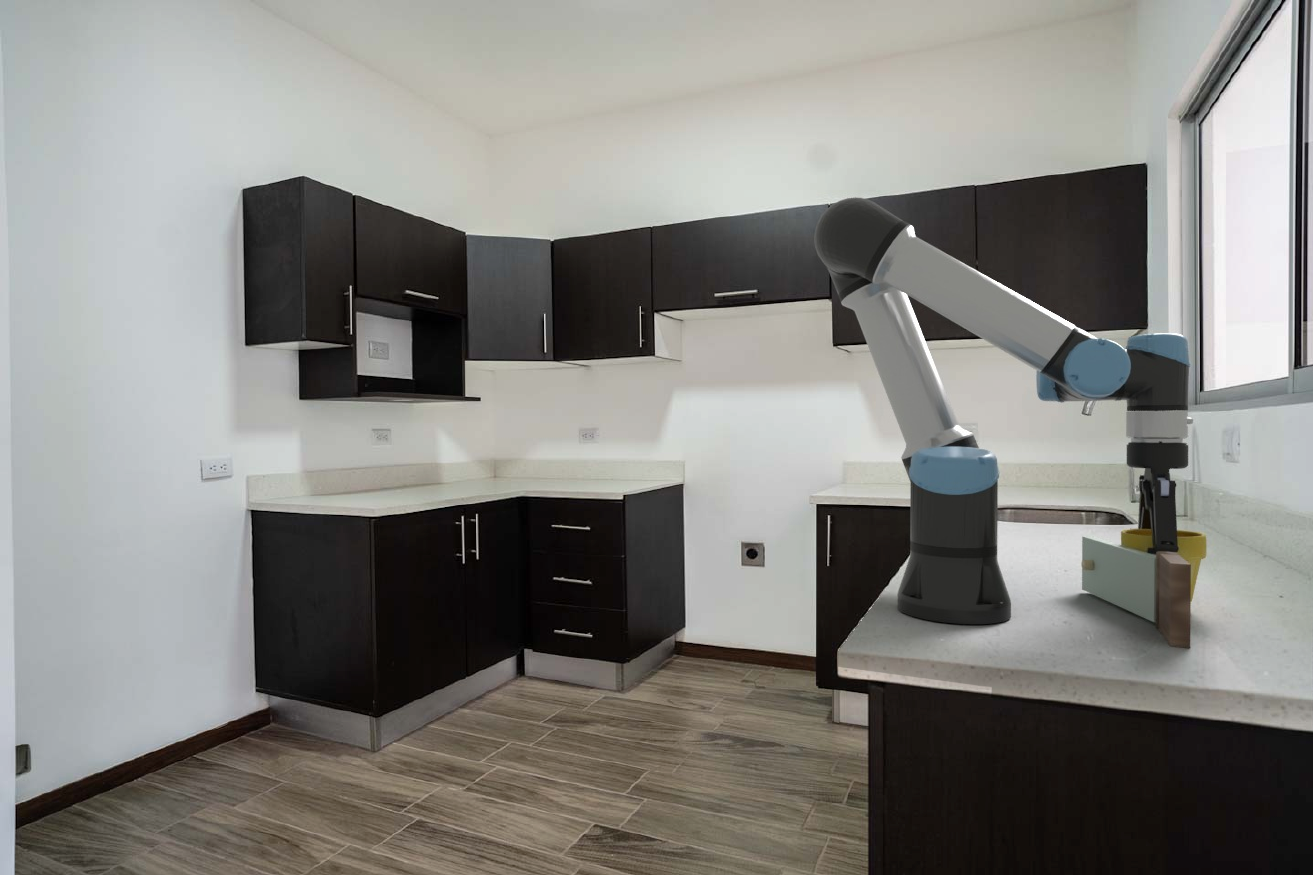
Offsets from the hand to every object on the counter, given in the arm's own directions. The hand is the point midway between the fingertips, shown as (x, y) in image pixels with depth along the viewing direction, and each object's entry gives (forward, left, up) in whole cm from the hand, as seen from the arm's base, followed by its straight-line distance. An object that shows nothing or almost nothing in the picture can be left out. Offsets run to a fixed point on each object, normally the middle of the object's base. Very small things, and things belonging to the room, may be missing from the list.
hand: (1156, 592), depth 111 cm
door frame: (-1, -4, -2) cm, 5 cm away
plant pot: (+1, 0, -1) cm, 1 cm away
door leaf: (-5, -2, -2) cm, 6 cm away
